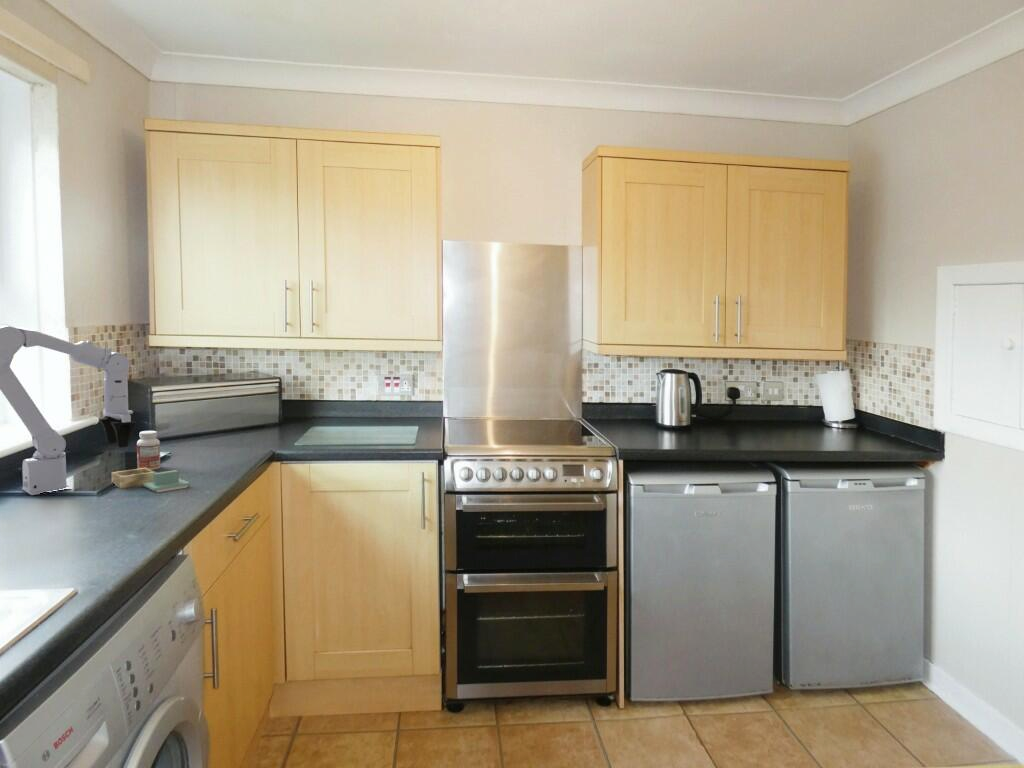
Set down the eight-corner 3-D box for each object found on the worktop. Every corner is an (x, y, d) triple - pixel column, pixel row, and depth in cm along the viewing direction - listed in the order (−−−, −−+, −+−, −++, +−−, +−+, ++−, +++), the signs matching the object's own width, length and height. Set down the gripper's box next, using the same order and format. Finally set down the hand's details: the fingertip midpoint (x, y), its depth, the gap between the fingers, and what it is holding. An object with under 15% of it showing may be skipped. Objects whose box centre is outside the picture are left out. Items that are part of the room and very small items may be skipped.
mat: (157, 492, 194) (157, 490, 194) (145, 486, 199) (145, 484, 199) (187, 487, 200) (187, 485, 200) (175, 481, 205) (175, 480, 205)
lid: (153, 490, 194) (153, 477, 193) (142, 485, 199) (142, 472, 198) (189, 485, 200) (189, 472, 200) (177, 480, 205) (177, 467, 205)
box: (121, 488, 196) (121, 477, 196) (111, 483, 201) (111, 472, 201) (156, 483, 203) (155, 472, 203) (146, 478, 208) (145, 467, 207)
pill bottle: (142, 466, 222) (141, 429, 221) (163, 466, 223) (162, 430, 222) (133, 470, 216) (132, 433, 215) (155, 471, 217) (154, 433, 216)
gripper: (142, 397, 200) (143, 447, 201) (121, 392, 209) (123, 439, 211) (114, 399, 194) (115, 450, 196) (94, 393, 204) (96, 442, 206)
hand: (117, 444), depth 203 cm, fingers open, 7 cm apart
